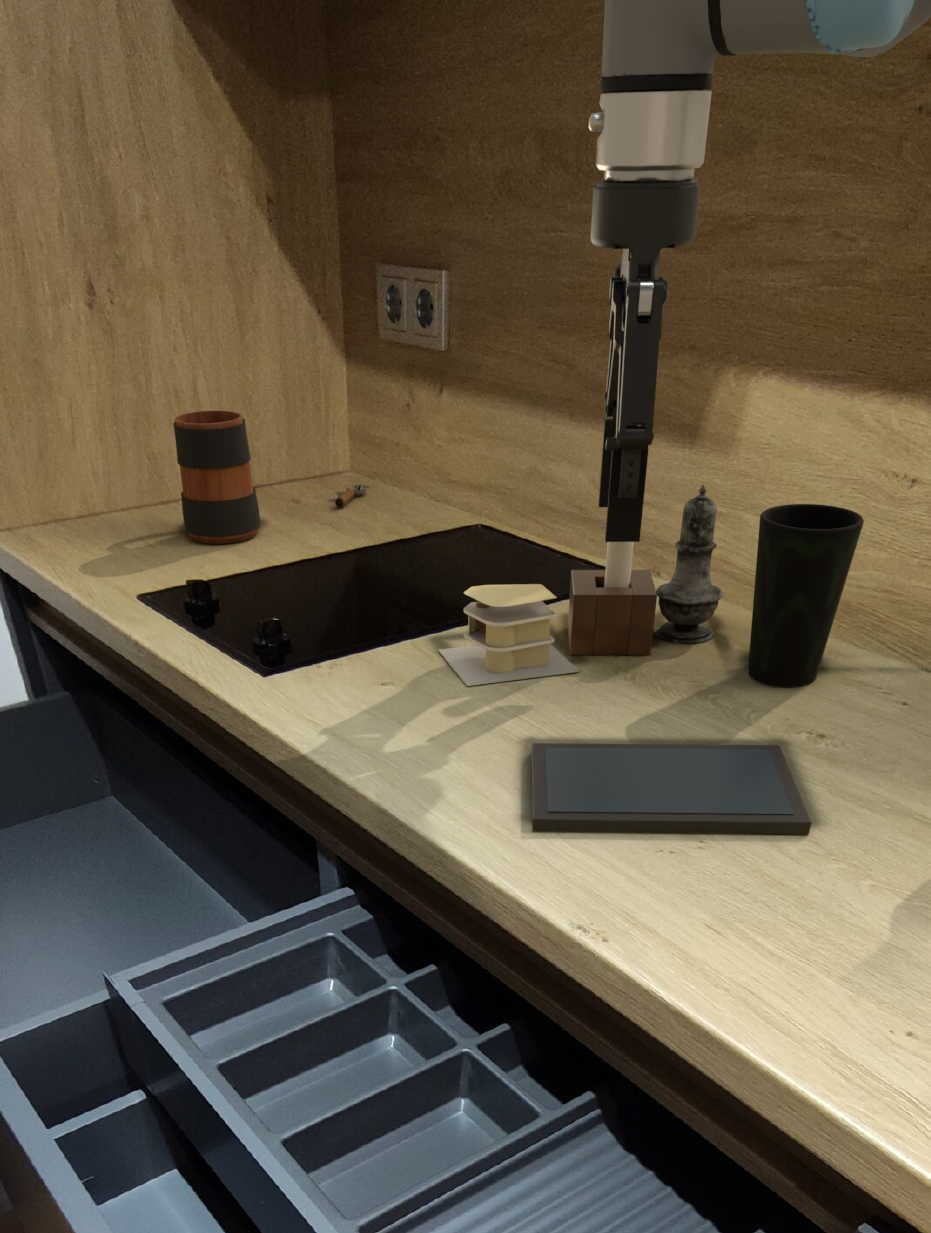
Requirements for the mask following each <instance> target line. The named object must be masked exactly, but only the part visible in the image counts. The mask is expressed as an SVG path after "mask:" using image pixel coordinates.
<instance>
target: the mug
mask: <svg viewBox="0 0 931 1233" xmlns="http://www.w3.org/2000/svg"><path fill="white" fill-rule="evenodd" d="M172 426H173V431H174V439H175V447H176V460H177V465H179V472H180V480H181V487H182V491H181V493H180V498H181V499H180V500H181V509H182V517H183V524H184V530H185V532H186V533H187V534H188V535H189V537H190V539H191V540H193V541H195V542H196V543H200V544H206V545H229V544H237V543H241V542H245V541H248V540H250V539H253V538H255V537H256V536H257V534H258V532H259V528H260V527H261V515H260V507H259V502H258V496H257V490H256V488H255V487H254V485H253V484H254V483H253V478H252V470H251V464H250V461H251V459H252V457H251V451H250V446H249V441H248V434H247V427H246V426H247V425H246V420H245V419H244V418H243V415H242V413H239V412H236V411H231V410H199V411H192V412H186V413H183V414H180V415H178V416H176V417H175V418H174V422H173V425H172Z"/></svg>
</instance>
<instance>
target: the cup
mask: <svg viewBox="0 0 931 1233" xmlns="http://www.w3.org/2000/svg"><path fill="white" fill-rule="evenodd" d="M864 523H865V520H864V517H863V516H862V515H861V514H860V513H858V512H856V511H853V510H852V509H847V508H844V507H840V506H834V505H827V504H816V503H793V504H792V503H791V504H782V505H777V506H776V505H775V506H773V507H769V508H767V509H765V510H764V511H762V513H760V514H759V525H758V526H759V527H758V536H757V537H758V539H757V552H756V564H755V576H754V577H755V578H754V590H753V601H752V602H753V603H752V612H751V613H752V614H751V627H750V640H749V652H748V665H747V675H748V677H749V678H750V679H751V680H753V681H754V682H757V683H759V684H761V685H762V684H763V685H766V686H771V687H776V688H777V687H778V688H799V687H805V686H808V685H811V684H812V683H814V682H815V681H816V679H817V676H818V672H819V670H820V667H821V663H822V659H823V656H824V653H825V651H826V646H827V644H828V641H829V637H830V634H831V630H832V628H833V624H834V620H835V617H836V614H837V612H838V608H839V604H840V602H841V597H842V595H843V591H844V588H845V585H846V582H847V579H848V576H849V572H850V568H851V565H852V563H853V562H852V561H853V559H854V556H855V552H856V549H857V545H858V542H859V539H860V536H861V532H862V529H863V527H864Z"/></svg>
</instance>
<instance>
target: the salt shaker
mask: <svg viewBox="0 0 931 1233" xmlns="http://www.w3.org/2000/svg"><path fill="white" fill-rule="evenodd" d="M707 491H708V490H707V489H706V487H705V484H702V485H701V487H700V488H699V489H698V492H699V494H698V495H696V496H695V497H692V498H691V499H689V500H688V501H686V503H685V504H684V506H683V509H682V510H683V511H682V518H681V520H682V521H681V526H680V536H679V540H678V541H676V542H675V543H674V548H675V549H677V552H676V561H675V569H674V571H673V574H672V578H671V580H670V581H669V582H667V583H664V584H662V585H660V586H658V587H657V588H656V589H655V590H656V593H657V598H658V607H659V610H660V613H661V615H662V616H663V617H664V618H665V619H666V620H667V621H665V622H663V623H662V624H660V625H658V626H657V627H656V628H655V630H654V634H655V636H656V637H657V638H659V639H661V640H663V641H665V642H669V643H674V644H684V645H685V644H686V645H688V644H689V645H690V644H691V645H692V644H699V643H704V642H708V641H709V640H712V639H713V638H714V636H715V631H714V630H713V629H712V628H711V627H710V626H709V625H708V624H706V622H707V621H708V620H709V619H711V618H712V616H713V615H714V614H715V612H716V611H717V608H718V606H719V601H720V600H721V599H722V598H723V597H724V591H723V590H722V589H721V587H718V586H717V585H715V584H713V583H712V581H711V562H712V557H713V556H712V555H713V551H714V550H715V549H717V546H718V545H717V543H716V542H715V541H714V534H715V526H716V521H717V513H718V505H717V503H716V502H715V501H714V500H713V499H712V498H710V497H708V495H706V493H707Z"/></svg>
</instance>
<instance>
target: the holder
mask: <svg viewBox="0 0 931 1233" xmlns="http://www.w3.org/2000/svg"><path fill="white" fill-rule="evenodd" d="M604 581H605V569H571V571H570V581H569V582H570V584H569V600H568V616H567V617H568V618H567V635H568V647H569V655H571V656H589V655H590V656H651V654H652V645H653V638H654V628H655V627H654V626H655V618H656V610H657V609H656V608H657V602H658V601H657V599H658V596H657V593H656V590H657V589H656V586H655V582H654V578H653V575H652V572H651V569H631V577H630V588H604Z"/></svg>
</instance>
